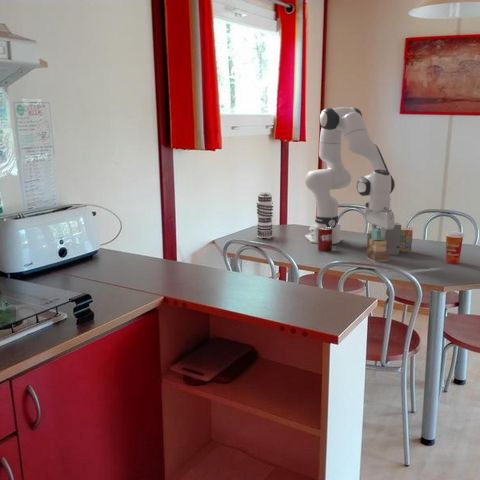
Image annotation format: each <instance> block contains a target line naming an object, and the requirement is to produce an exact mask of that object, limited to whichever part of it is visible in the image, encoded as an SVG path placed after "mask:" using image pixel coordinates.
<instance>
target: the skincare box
mask: <svg viewBox="0 0 480 480" xmlns="http://www.w3.org/2000/svg"><path fill="white" fill-rule="evenodd" d="M401 227H402V224H400V223H399V222H394V228H393V229H391V230H386V234H385V240H386V251H388V256H389V255H391V256H392V255H393V256H396V255H400V251H399V248H400V236H401Z"/></svg>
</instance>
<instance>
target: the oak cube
mask: <svg viewBox="0 0 480 480" xmlns="http://www.w3.org/2000/svg"><path fill="white" fill-rule="evenodd" d="M369 250H371V251H374V252H385V251H386V240H375V239H370V245H369Z"/></svg>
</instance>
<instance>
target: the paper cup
mask: <svg viewBox="0 0 480 480" xmlns="http://www.w3.org/2000/svg"><path fill="white" fill-rule="evenodd" d="M445 236H446V237H445V239H446V240H445V242H446V243H445V245H446V246H445V262H446V264H449V265H458V264H459V263H460V258H461V252H462V246H463V240H464V237H465V236H464V234H463V232H461V231H456V230H453V231H452V230H451V231H447V232H446V234H445Z"/></svg>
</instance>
